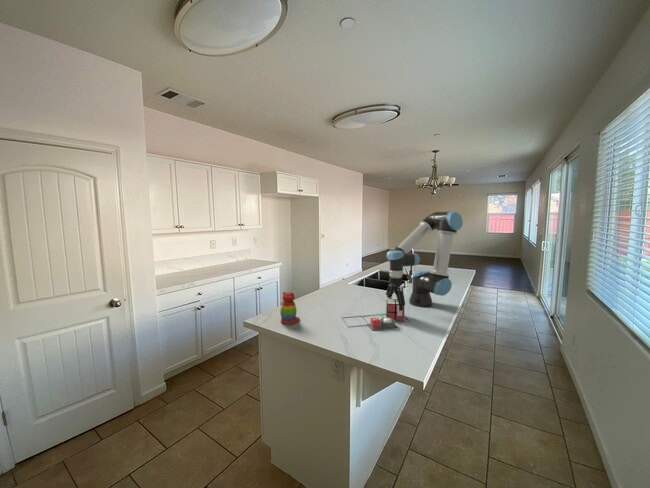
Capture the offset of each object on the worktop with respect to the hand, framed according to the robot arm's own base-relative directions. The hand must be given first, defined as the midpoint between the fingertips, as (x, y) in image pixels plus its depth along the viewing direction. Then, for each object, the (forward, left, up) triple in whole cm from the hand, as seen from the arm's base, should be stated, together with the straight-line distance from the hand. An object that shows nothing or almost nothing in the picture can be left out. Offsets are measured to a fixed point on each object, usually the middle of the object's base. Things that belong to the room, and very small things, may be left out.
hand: (394, 311), depth 160 cm
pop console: (+12, +10, -4) cm, 16 cm away
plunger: (+9, +10, -3) cm, 14 cm away
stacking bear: (+63, -8, -4) cm, 63 cm away
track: (+12, 0, -4) cm, 13 cm away
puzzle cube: (0, 0, -4) cm, 4 cm away
